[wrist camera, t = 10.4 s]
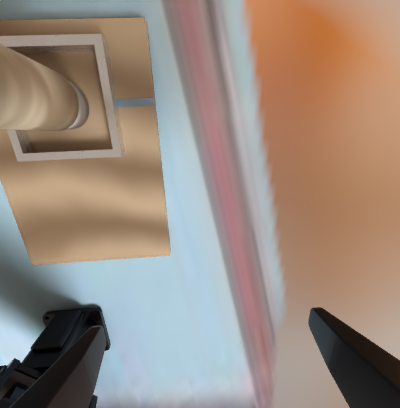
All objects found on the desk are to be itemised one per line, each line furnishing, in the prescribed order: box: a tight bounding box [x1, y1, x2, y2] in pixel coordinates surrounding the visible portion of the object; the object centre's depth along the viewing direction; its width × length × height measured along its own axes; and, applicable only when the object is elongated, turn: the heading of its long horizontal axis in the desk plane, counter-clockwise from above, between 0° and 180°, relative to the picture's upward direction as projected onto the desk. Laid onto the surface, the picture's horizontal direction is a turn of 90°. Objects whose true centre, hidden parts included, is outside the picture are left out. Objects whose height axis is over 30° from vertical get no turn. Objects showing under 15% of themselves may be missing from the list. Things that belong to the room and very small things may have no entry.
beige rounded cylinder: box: [0, 44, 89, 131], centre depth 12 cm, size 4×4×8 cm
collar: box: [0, 34, 126, 162], centre depth 15 cm, size 8×8×1 cm
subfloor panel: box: [0, 17, 171, 265], centre depth 18 cm, size 20×14×1 cm
